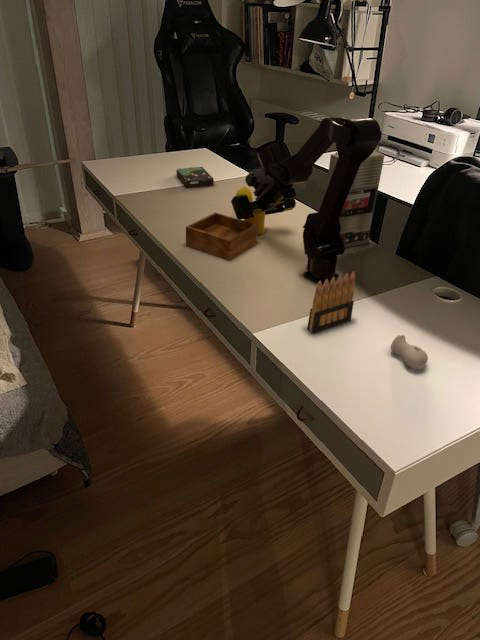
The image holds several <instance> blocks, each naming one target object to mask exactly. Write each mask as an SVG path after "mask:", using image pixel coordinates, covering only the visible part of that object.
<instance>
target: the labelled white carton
mask: <svg viewBox="0 0 480 640" xmlns="http://www.w3.org/2000/svg"><path fill="white" fill-rule="evenodd" d="M337 160H338V153H332V154H330V157H329V166H328V174H327V180H326V188H325V191H326V190H327V188H328V185H329V182H330V179H331V177H332V174H333V171H334V169H335V166H336V163H337ZM384 161H385V154H384V153H382V152H379V151H376V150H374V152H373V153H372V154H371V155H370V156H369V157H368V158H367V159H366V160H365V161H364V162H363V163H362V164H361V165H360V167H359V170H358V172H357V175H356V177H355V179H354V182H353V184H352V187H351V189H350V192H349V194H348V197H347V199H346V201H345V204H344V206H343V209H342V211H341V214H340V216H339V220H340V224H341V230H340V235H341V238H342V240H343V243H344V245H345V248H350V247H351V248H352V247H355V246H358V245H365V244H369V243H370V242H371V238H370V233H371V229H372V228H371V227H372V224H373V223H372V222H373V218H374V211H375V207H376V202H377V197H378V193H379V187H380V181H381V176H382V171H383V166H384ZM326 246H329V245H326ZM323 247H325V246H323Z"/></svg>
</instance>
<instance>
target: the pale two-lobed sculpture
mask: <svg viewBox="0 0 480 640" xmlns="http://www.w3.org/2000/svg"><path fill="white" fill-rule="evenodd" d="M390 351H391V354H399V355H400V356H401V357H402V358H403V359H404V361H405V365H406V366H407V367H410V368H412V369H416V370H418V369H422V368H424V367H425V366H426V365H427V363H428V360H429V356H428V354H427V352H426V351H425V350H423V349H422V348H421V347H419V346H417V345H414V344H410V343H408V342H407V340H406V335H403V334H397V335H396V336H395V338H394V339H393V341H392V342H391V344H390Z"/></svg>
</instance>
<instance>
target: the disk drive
mask: <svg viewBox="0 0 480 640" xmlns="http://www.w3.org/2000/svg"><path fill="white" fill-rule="evenodd" d="M175 172H176V177H178V179H179V180H180V181H181V183H182V184H183V185H184V186H185V187H186V188H198V187H211V186H214V185H215V180H214V178H213V176H212V175H211V174H210V173H209V172H208V171H207V170H206V169H205V168H204V167H203V166H195V167H194V166H193V167H185V168H177V169H176V171H175Z"/></svg>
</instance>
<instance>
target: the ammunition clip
mask: <svg viewBox="0 0 480 640" xmlns="http://www.w3.org/2000/svg"><path fill="white" fill-rule="evenodd" d="M342 277H343V276H342V275H341V274H339V275H338V277H337V278H335V277H333V278H332V280H331V281H329V282H328V279H326V280H325V282H324V284H322V283H321V281H319V282H317V284H316V288H315V292H314V297H313V300H312V306H311V308H310V309H309V310H310V311H309V316H308V320H307V321H308V322H307V327H306V330H307V331H309V332H310V333H312V334H315V333H318V332H321V331H324V330H327V329H331V328H333V327H337V326H341V325H342V324H345V323H349V322H351V321H352V316H353V308H354V299H353V298H354V294H355V283H356V272H355V271H354V270H353V271H352V272H351V273H350V277H349V273H348V272H346V273H345V275H344V277H343V278H342Z"/></svg>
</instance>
